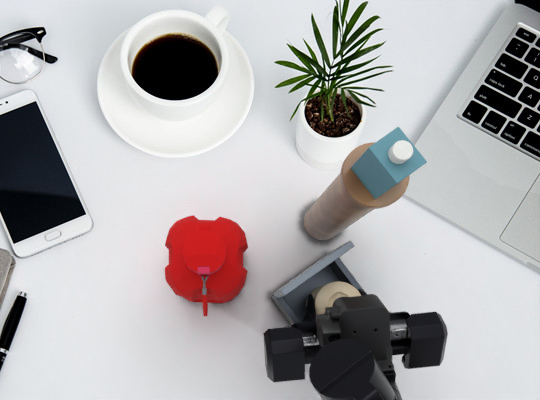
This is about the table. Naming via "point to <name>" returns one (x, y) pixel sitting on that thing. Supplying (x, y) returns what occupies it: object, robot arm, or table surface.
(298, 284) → the lid
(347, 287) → the candle
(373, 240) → the table surface
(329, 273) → the open box
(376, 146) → the teal milk carton
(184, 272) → the red rounded piece
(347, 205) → the tall beige cylinder
